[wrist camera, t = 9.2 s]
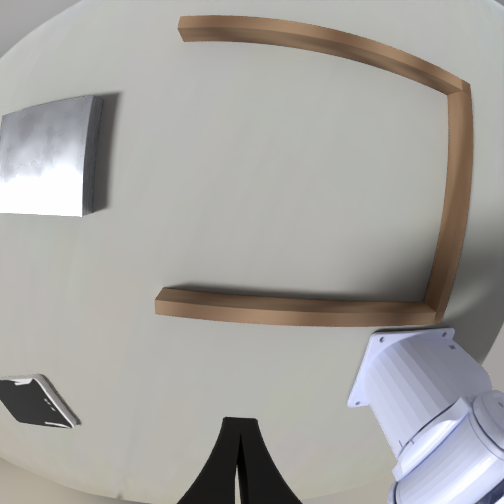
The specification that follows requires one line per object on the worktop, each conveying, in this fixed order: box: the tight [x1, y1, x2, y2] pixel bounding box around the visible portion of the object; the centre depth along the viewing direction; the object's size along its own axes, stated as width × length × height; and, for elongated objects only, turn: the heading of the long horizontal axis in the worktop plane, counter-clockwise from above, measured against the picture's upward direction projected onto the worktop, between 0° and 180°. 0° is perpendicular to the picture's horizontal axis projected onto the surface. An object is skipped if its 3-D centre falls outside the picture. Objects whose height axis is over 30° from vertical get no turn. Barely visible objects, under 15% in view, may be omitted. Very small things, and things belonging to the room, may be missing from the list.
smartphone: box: [0, 374, 77, 428], centre depth 22 cm, size 8×1×15 cm
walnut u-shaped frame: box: [155, 15, 473, 327], centre depth 16 cm, size 21×19×2 cm
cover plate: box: [0, 95, 103, 216], centre depth 15 cm, size 10×8×2 cm
